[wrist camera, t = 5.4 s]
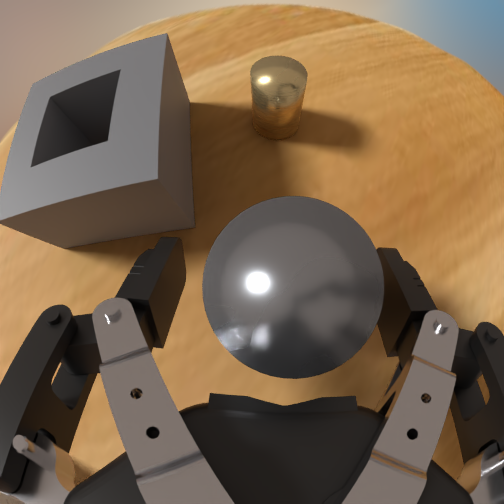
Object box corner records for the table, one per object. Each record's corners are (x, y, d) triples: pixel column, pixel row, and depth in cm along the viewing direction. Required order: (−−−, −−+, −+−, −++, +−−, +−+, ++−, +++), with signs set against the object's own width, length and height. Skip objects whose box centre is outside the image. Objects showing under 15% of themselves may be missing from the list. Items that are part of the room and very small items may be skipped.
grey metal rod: (295, 271, 17) (365, 189, 5) (302, 326, 16) (393, 358, 5) (240, 278, 17) (194, 207, 5) (247, 333, 16) (215, 388, 5)
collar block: (189, 101, 20) (167, 33, 13) (195, 227, 18) (157, 178, 11) (76, 132, 20) (32, 84, 13) (63, 248, 18) (-5, 222, 11)
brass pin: (294, 103, 19) (300, 54, 14) (303, 138, 19) (313, 90, 14) (250, 107, 19) (247, 57, 14) (256, 142, 19) (254, 94, 14)
